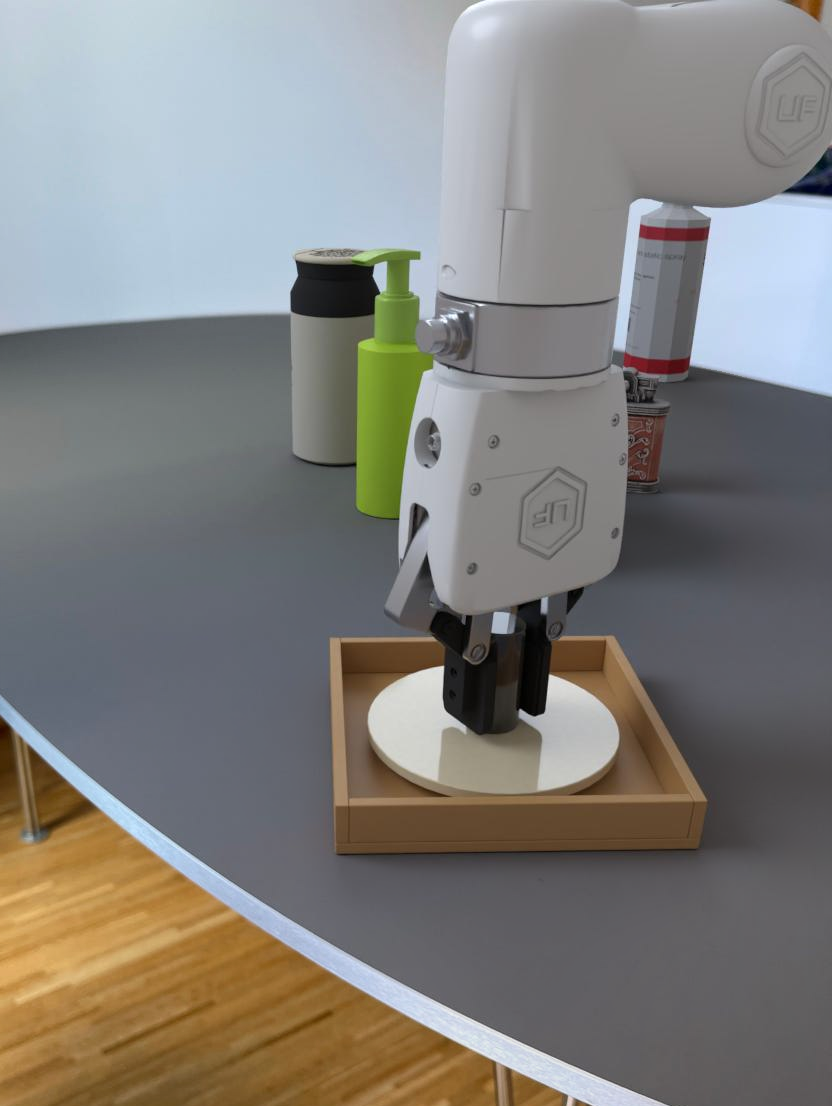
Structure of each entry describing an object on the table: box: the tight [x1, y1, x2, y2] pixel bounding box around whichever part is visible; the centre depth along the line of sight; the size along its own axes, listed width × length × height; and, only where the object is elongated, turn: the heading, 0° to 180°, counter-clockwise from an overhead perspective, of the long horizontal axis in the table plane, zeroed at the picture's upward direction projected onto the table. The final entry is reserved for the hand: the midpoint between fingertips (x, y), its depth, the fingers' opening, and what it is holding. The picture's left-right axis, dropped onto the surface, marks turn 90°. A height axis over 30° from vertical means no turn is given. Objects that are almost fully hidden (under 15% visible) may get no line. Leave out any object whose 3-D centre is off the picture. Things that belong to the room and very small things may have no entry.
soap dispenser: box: [350, 248, 434, 519], centre depth 83 cm, size 6×7×20 cm
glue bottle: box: [622, 202, 712, 383], centre depth 126 cm, size 8×8×25 cm
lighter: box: [622, 367, 671, 494], centre depth 91 cm, size 8×3×10 cm, turn 65°
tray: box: [329, 635, 709, 855], centre depth 54 cm, size 16×16×3 cm
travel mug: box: [289, 247, 382, 466], centre depth 97 cm, size 8×8×18 cm
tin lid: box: [367, 611, 620, 797], centre depth 53 cm, size 13×13×7 cm
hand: (493, 710), depth 53 cm, fingers closed on tin lid, 2 cm apart
